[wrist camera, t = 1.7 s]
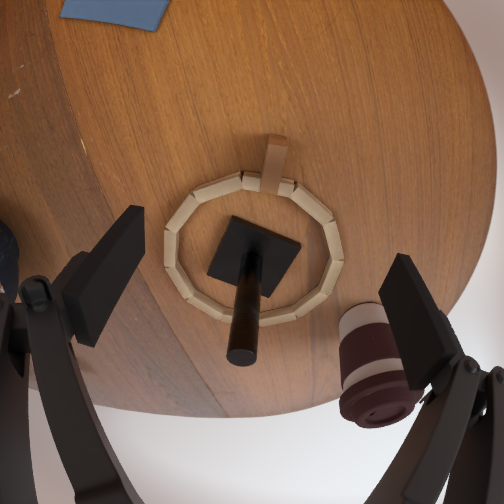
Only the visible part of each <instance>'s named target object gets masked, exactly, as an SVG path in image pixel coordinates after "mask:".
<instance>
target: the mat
mask: <svg viewBox="0 0 504 504" xmlns="http://www.w3.org/2000/svg"><path fill="white" fill-rule="evenodd" d="M168 3H169V0H66V1H65V3H64V6H63V8H62V11H61V14H60V17H64V18H75V19H84V20H92V21H99V22H106V23H112V24H118V25H124V26H129V27H134V28H139V29H143V30H148V31H152V32H156V29H157V27H158V25H159V22H160V20H161V18H162V16H163V13H164V11H165V9H166V7H167V5H168Z"/></svg>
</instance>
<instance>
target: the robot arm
mask: <svg viewBox="0 0 504 504" xmlns="http://www.w3.org/2000/svg"><path fill="white" fill-rule="evenodd" d="M144 254H145V231H144V207H141V206H135V205H130V206H129V207H128V208H127V209H126V210H125V211H124V213H123V214H122V215H121V216H120V217H119V218H118V219H117V221H116V222H115V223H114V224H113V225H112V227H111V228H110V229H109V230H108V231H107V232H106V234H105V235H104V236H103V237H102V239H101V240H100V241H99V242H98V243H97V245H96V246H95V247H94V248H93V250H92V251H91V252H90V253H88V252H84V251H82V252H80V253H78V254H77V255H75V256H74V257H72V259H71V260H70V261H69V262H68V264H67V266H65V267H64V269H63V270H62V272H60V274H59V275H58V276H57V277H56V279H55V280H54V281H53V283H52V284H50V282H49V280H48V279H47V278H46V277H44V276H40V275H37V276H32V277H29V278H27V279H26V280H24V281H23V282H22V283H21V285H20V286H19V289H18V293H19V296H20V298H21V301H22V303H11V301H10V299H9V297H8V295H7V294H5V293H0V504H38V501H37V496H36V490H35V484H34V477H33V470H32V461H31V452H30V439H29V419H28V382H29V361H30V353H31V355H32V361H33V366H34V371H35V375H36V380H37V384H38V388H39V392H40V396H41V400H42V403H43V407H44V411H45V414H46V417H47V421H48V424H49V427H50V430H51V433H52V436H53V439H54V442H55V444H56V447H57V450H58V453H59V455H60V458H61V461H62V463H63V466H64V468H65V470H66V473H67V475H68V477H69V480H70V482H71V484H72V486H73V489H74V492H75V503H76V504H144V502H143V501H142V499H141V498H140V497H139V495H138V494H137V492H136V491H135V489H134V487H133V485H132V484H131V482H130V480H129V479H128V477H127V475H126V473H125V471H124V469H123V468H122V466H121V464H120V462H119V460H118V459H117V456H116V454H115V452H114V450H113V448H112V446H111V444H110V442H109V440H108V438H107V436H106V434H105V432H104V429H103V427H102V425H101V423H100V420H99V418H98V416H97V413H96V411H95V409H94V406H93V404H92V401H91V399H90V396H89V394H88V391H87V388H86V386H85V383H84V380H83V377H82V374H81V372H80V369H79V366H78V363H77V360H76V357H75V353H74V350H73V347H72V344H71V342H70V341H71V339H72V337H73V335H74V334H75V337H76V339H77V342H78V343H80V344H83V345H87V346H90V347H93V348H94V347H95V344H96V342H97V340H98V338H99V336H100V334H101V332H102V330H103V328H104V327H105V325H106V323H107V321H108V319H109V317H110V315H111V313H112V311H113V309H114V307H115V305H116V304H117V302H118V300H119V298H120V296H121V294H122V293H123V291H124V289H125V287H126V285H127V284H128V282H129V280H130V278H131V276H132V275H133V273H134V271H135V269H136V268H137V266H138V264H139V262H140V261H141V259H142V257H143V256H144ZM378 293H379V296H380V299H381V302H382V304H383V307H384V310H385V313H386V316H387V319H388V322H389V324H390V327H391V330H392V334H393V337H394V340H395V343H396V346H397V349H398V352H399V356H400V359H401V362H402V366H403V369H404V372H405V376H406V379H407V383H408V387H409V390H410V391H422V390H424V389H425V388H426V387H427V386H428V385H429V383H431V386H432V390H431V391H430V392H429V393H428V394H427V395H426V396H424V397H423V398H422V400H421V401H420V402H419V403H420V404H421V403H422V402H423V401H424V404H423V405H422V408H421V410H420V412H419V414H418V416H417V418H416V420H415V422H414V424H413V426H412V427H411V429H410V431H409V433H408V435H407V437H406V439H405V440H404V442H403V444H402V446H401V447H400V449H399V451H398V453H397V454H396V456H395V458H394V459H393V461H392V463H391V464H390V466H389V467H388V469H387V471H386V472H385V474H384V475H383V477H382V479H381V480H380V481H379V483H378V484H377V486H376V487H375V489H374V490H373V492H372V493H371V495H370V496H369V497H368V499H367V500H366V501H365V503H364V504H435V503H436V501H437V499H438V497H439V495H440V493H441V491H442V489H443V486H444V485H445V482H446V480H447V478H448V475H449V473H450V475H449V480H448V485H447V489H446V494H445V498H444V502H443V504H504V369H503V368H502V367H499V366H496V367H494V368H493V369H492V370H491V371H490V372H486V371H483V370H481V369H480V366H479V364H478V363H477V361H476V360H474V359H473V358H472V357H470V356H466V355H465V354H464V352H463V349H462V348H461V345H460V343H459V341H458V338H457V336H456V335H455V334H454V333H455V332H454V330H453V328H451V324H450V322H449V320H448V318H447V317H446V315H445V314H444V313H443V312H442V311H441V310H438V308H437V306H436V304H435V302H434V300H433V298H432V296H431V294H430V292H429V290H428V288H427V286H426V285H425V283H424V281H423V279H422V277H421V275H420V274H419V272H418V270H417V268H416V267H415V265H414V263H413V261H412V260H411V258H410V256H409V255H405V254H400V253H397V255H396V258H395V260H394V262H393V264H392V266H391V268H390V270H389V272H388V274H387V276H386V278H385V280H384V282H383V284H382V286H381V288H380V290H379V292H378ZM485 408H486V413H485V415H483V410H484V409H485Z"/></svg>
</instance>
